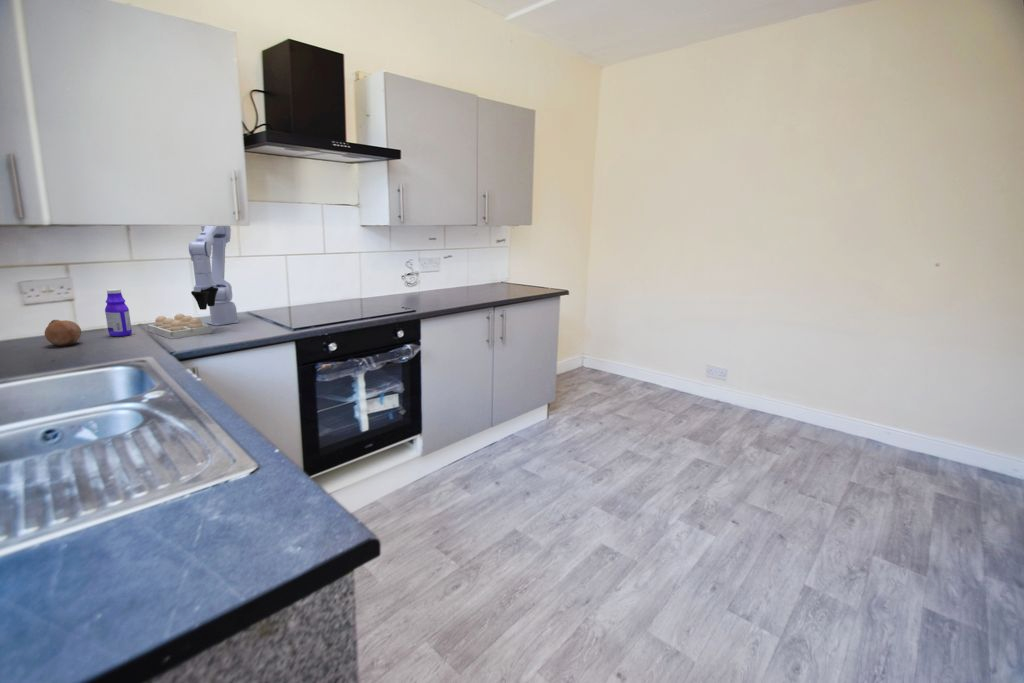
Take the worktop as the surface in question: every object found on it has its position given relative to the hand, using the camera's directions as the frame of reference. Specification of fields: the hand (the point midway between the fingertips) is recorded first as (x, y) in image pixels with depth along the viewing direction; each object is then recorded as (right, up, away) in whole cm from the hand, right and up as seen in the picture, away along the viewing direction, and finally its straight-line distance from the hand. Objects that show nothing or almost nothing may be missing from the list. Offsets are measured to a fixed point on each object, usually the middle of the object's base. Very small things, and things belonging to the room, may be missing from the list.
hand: (207, 307), depth 197 cm
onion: (-35, -15, -23) cm, 44 cm away
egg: (-3, -9, -2) cm, 10 cm away
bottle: (-28, -11, -7) cm, 31 cm away
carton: (-10, -10, 0) cm, 14 cm away
